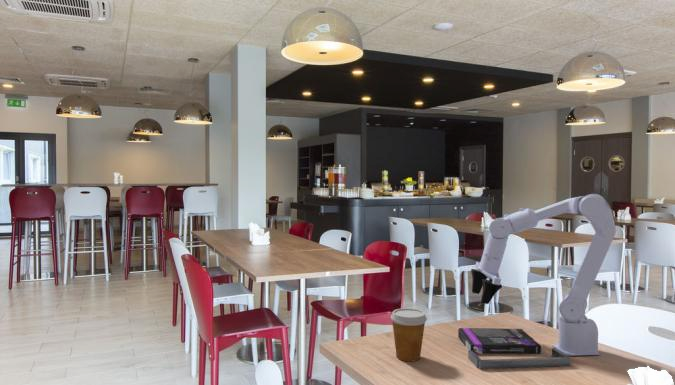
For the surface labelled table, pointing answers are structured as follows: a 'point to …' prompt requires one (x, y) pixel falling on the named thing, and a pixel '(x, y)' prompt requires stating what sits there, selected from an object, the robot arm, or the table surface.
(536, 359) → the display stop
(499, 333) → the box
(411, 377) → the table surface
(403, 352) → the disposable coffee cup
